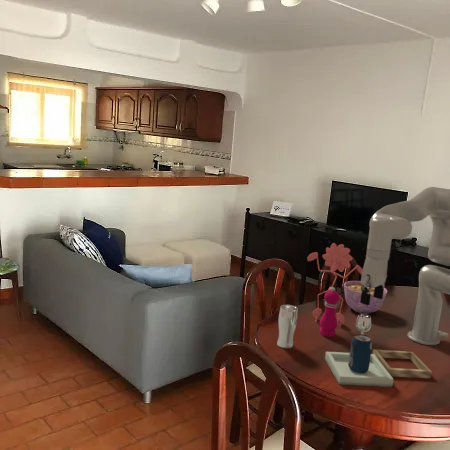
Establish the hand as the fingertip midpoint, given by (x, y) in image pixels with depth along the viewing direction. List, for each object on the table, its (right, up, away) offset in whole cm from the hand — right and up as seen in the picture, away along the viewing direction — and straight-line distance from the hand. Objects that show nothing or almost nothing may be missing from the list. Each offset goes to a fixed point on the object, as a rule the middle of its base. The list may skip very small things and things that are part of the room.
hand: (371, 301), depth 168 cm
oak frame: (+12, -25, +6) cm, 28 cm away
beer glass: (-28, -20, +16) cm, 38 cm away
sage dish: (-5, -25, -1) cm, 25 cm away
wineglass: (+2, -21, +22) cm, 31 cm away
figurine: (-5, -16, +45) cm, 48 cm away
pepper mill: (-9, -18, +30) cm, 37 cm away
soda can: (-5, -24, -1) cm, 25 cm away
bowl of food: (+14, -14, +62) cm, 65 cm away
